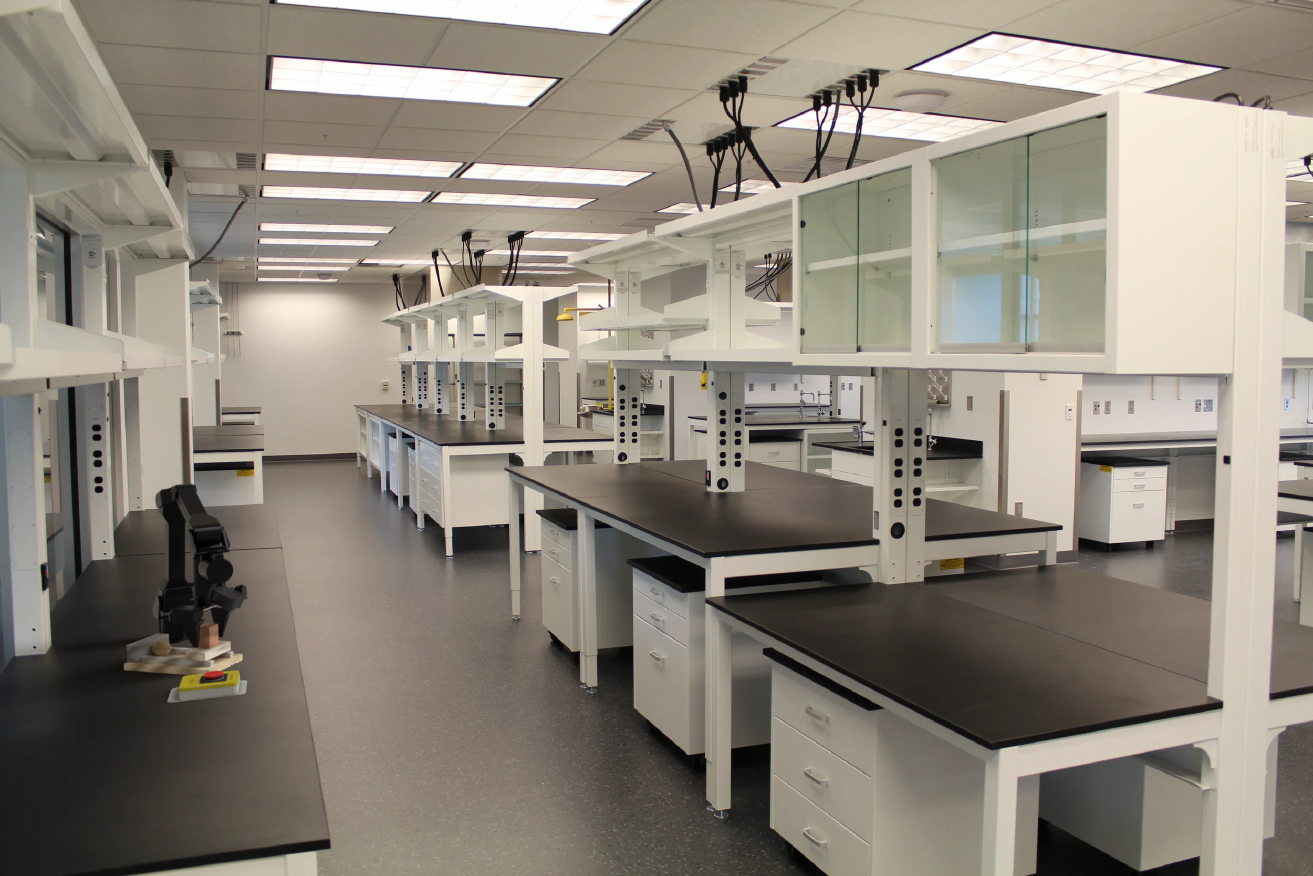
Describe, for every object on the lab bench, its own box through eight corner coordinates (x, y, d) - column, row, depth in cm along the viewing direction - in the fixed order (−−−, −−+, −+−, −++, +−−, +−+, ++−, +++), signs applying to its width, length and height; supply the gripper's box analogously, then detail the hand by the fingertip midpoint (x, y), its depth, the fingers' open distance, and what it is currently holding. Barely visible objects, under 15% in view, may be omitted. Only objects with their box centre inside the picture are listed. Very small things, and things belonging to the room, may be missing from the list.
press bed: (124, 670, 210) (123, 646, 209) (161, 654, 221) (160, 632, 221) (209, 676, 206) (208, 652, 205) (242, 660, 217) (242, 637, 217)
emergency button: (245, 676, 194) (166, 684, 189) (245, 696, 195) (166, 705, 189) (247, 663, 203) (171, 671, 197) (247, 682, 203) (172, 691, 198)
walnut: (148, 659, 213) (147, 642, 213) (160, 654, 217) (159, 637, 216) (163, 660, 212) (162, 643, 212) (175, 655, 216) (174, 638, 216)
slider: (185, 660, 208) (185, 630, 208) (211, 648, 217) (211, 619, 216) (205, 661, 207) (204, 631, 207) (230, 649, 216) (229, 620, 216)
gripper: (210, 587, 200) (212, 656, 201) (262, 569, 218) (263, 633, 220) (166, 584, 202) (168, 653, 203) (221, 567, 220) (222, 630, 222)
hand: (208, 642), depth 212 cm, fingers open, 8 cm apart
